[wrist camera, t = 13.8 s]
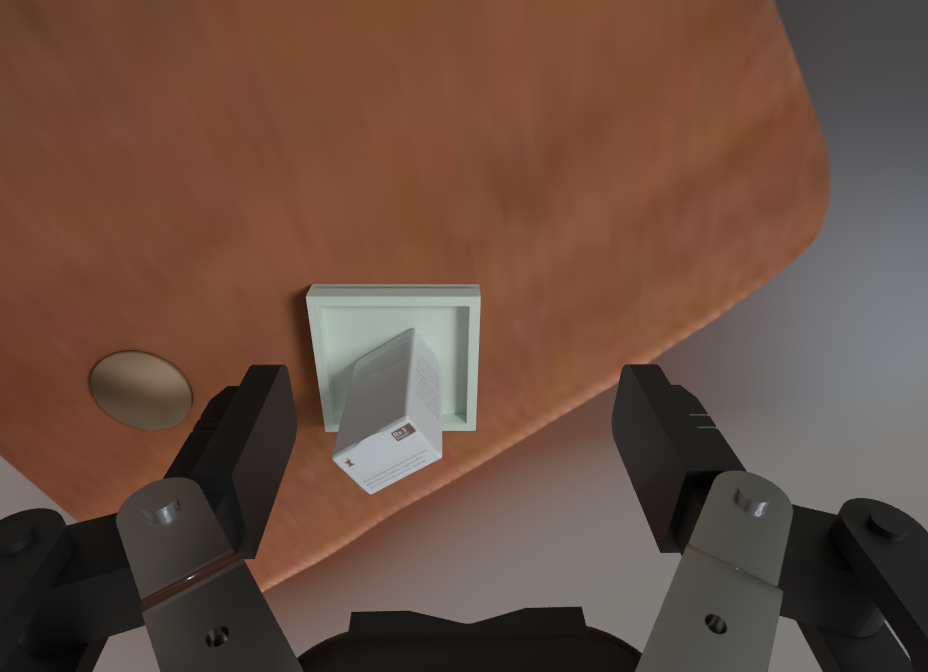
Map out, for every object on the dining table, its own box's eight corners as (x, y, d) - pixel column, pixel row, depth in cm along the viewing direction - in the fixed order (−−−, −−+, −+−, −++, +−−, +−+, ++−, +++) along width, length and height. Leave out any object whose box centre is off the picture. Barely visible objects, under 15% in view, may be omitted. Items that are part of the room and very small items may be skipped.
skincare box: (386, 393, 46) (369, 502, 36) (353, 357, 44) (325, 461, 34) (445, 360, 45) (446, 463, 34) (414, 321, 43) (405, 417, 32)
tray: (311, 284, 42) (305, 296, 40) (478, 284, 42) (480, 296, 40) (330, 415, 48) (325, 431, 46) (474, 414, 49) (475, 430, 47)
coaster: (80, 350, 44) (76, 354, 43) (180, 350, 44) (177, 354, 44) (111, 426, 48) (107, 430, 47) (202, 425, 48) (199, 430, 48)
